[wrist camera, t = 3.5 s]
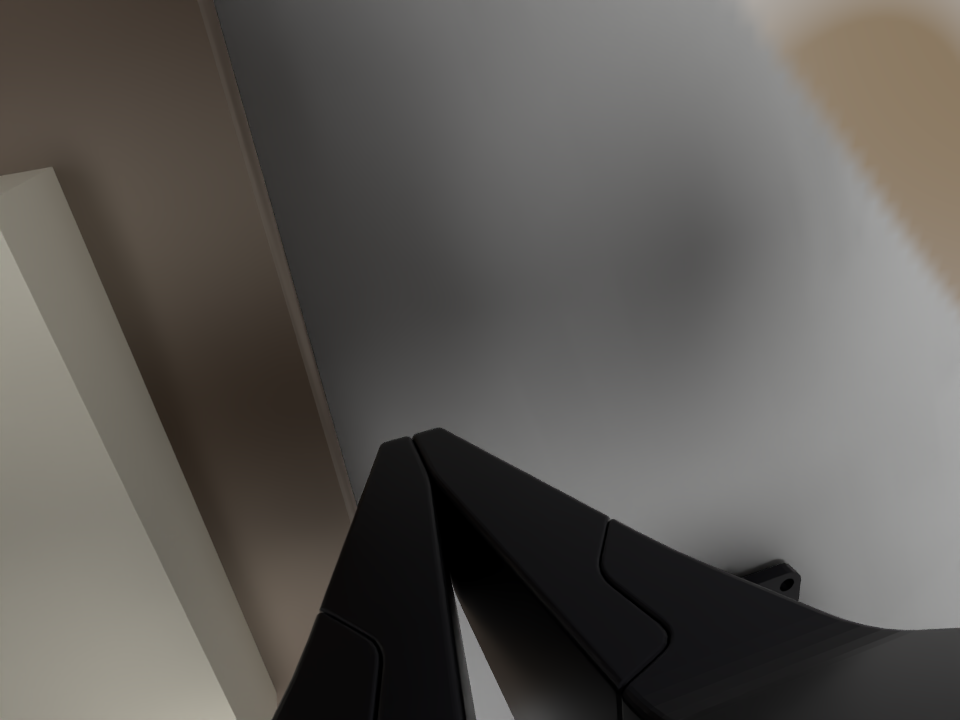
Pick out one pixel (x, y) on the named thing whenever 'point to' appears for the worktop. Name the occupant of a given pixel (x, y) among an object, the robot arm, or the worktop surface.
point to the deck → (190, 280)
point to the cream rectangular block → (98, 507)
